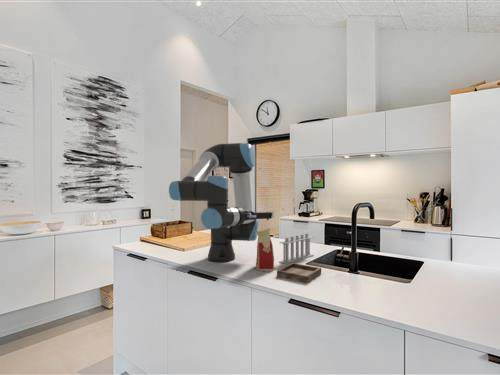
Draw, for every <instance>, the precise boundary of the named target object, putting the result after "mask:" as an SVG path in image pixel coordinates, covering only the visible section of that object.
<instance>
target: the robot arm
mask: <svg viewBox="0 0 500 375" xmlns="http://www.w3.org/2000/svg"><path fill="white" fill-rule="evenodd" d="M255 165H256V159H255V151H254V147H253V146H252V144H250V143H244V142H238V143H237V142H236V143H235V142H234V143H232V142H231V143H219V144H215V145H213V146H210V147H209V148H206V150H204V151H203V152H202V153H201V155H200V156H199V158H198V161H197V162H196V163H195V165H194V166H192V168H191V169H190V170H189V171H188V172H187V173H186V174H185V175H184V177H183V178H182V179H181V180H173V181H171V182H170V184H169V187H168V195H169V197H170V199H171V200H172V201H179V202H182V201H183V202H185V201H186V202H193V201H194V202H206V203H207V204H206V206H207V207H206V208H204V209H203V211H202V213H201V215H200V221H201V223H202V225H203V227H205V228H206V229H209V230H210V248H209V250H208V254H207V260H208V261H211V262H214V263H225V262H230V261H234V260H235V259H236V254H235V250H234V247H233V243H232V242H233V241H243V242H245V241H246V242H253V241H256V240H257V239H258V235H257V233H256V232H255V231H259V225H260V220H267V221H269V220H271V219H272V218H275V211H274V210H270V211H264V212H263V211H262V212H261V211H260V212H259V211H257V212H255V211H253V205H252V193H251V192H252V191H251V189H252V188H251V178H250V174H251V172H252V170H253V168H254V167H255ZM218 168H228V171H229V172H228V173H230V174H231V175H232V183H233V185H232V186H233V192H234V203H235V204H234V205H235V206H228V204H229V203H228V200H229V199H228V197H229V195H228V194H229V185H228V177H227V176H225V175H211V173H212V171H215V170H216V169H218Z"/></svg>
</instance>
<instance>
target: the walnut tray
mask: <svg viewBox="0 0 500 375" xmlns="http://www.w3.org/2000/svg"><path fill="white" fill-rule="evenodd" d="M321 274H322V267H318V266H313V265H306V264H303V263H302V264H301V263H296V262H292V263H289V264H286V265H285V266H283V267H282V268H281V267H280V268H279V269H277V270H276V277H278V278H282V279H288V280H291V281H292V280H293V281H297V282H302V283H306V284H308V283H310V282H311V281H313V280H314V279H316V278H317V277H319V276H320V275H321Z"/></svg>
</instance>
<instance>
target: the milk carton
mask: <svg viewBox="0 0 500 375" xmlns="http://www.w3.org/2000/svg"><path fill="white" fill-rule="evenodd" d="M270 229H271V228H270V227H269V228H265V229H262V230H258V231H255V232H256V233H257V244H256V245H257V246H256V260H255V261H256V262H255V270H257V271H261V272H262V271H265V272H266V271H271V272H273V271H275V269H274V268H275V256H274V255H275V254H274V245H273V242H272V238H271V234H270Z"/></svg>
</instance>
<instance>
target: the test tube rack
mask: <svg viewBox="0 0 500 375" xmlns="http://www.w3.org/2000/svg"><path fill="white" fill-rule="evenodd" d="M313 238H314V236H310V235H309V233H307V232H305V234H304V233H303V234H302V233H301V234H300V235H299V234H298V235H295V237H294V235H293V236H290V238H289V237H288V236H287V237H286V236H285V240H282V241H279V244H283V247H282V248H283V259H282V260H280V261H279V262H278V263H279V264H283V265H289V264H291V263H296V262H297V261H302V260H305V259H308V258H311V257H314V254H312V253H311V250H310V249H311V246H310V245H311V239H313ZM294 243H295V244H294ZM289 246H290V247H289ZM304 246H305V248H304ZM294 247H295V248H294ZM289 248H290V250H289ZM299 249H300V250H299ZM304 250H305V251H304ZM289 252H290V257H289ZM294 253H295V254H294Z"/></svg>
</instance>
